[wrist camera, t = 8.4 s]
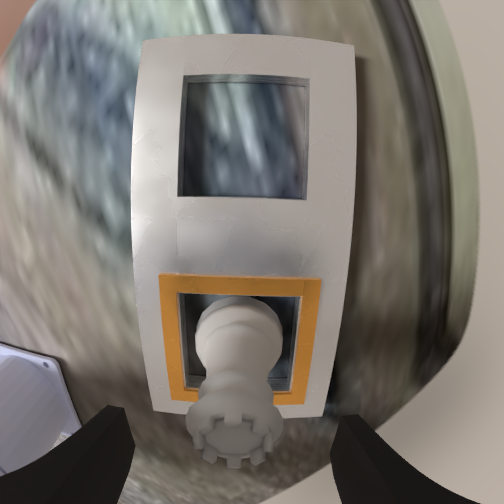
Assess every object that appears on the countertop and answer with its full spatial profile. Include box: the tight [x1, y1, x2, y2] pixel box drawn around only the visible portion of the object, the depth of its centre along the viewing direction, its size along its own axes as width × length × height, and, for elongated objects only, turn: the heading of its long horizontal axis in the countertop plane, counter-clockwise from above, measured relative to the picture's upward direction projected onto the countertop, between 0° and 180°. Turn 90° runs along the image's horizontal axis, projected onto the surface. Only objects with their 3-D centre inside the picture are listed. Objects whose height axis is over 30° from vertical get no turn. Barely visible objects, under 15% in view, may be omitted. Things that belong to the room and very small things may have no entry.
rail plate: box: [131, 34, 357, 418], centre depth 14 cm, size 10×20×1 cm, turn 178°
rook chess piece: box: [185, 296, 284, 469], centre depth 12 cm, size 4×4×8 cm
